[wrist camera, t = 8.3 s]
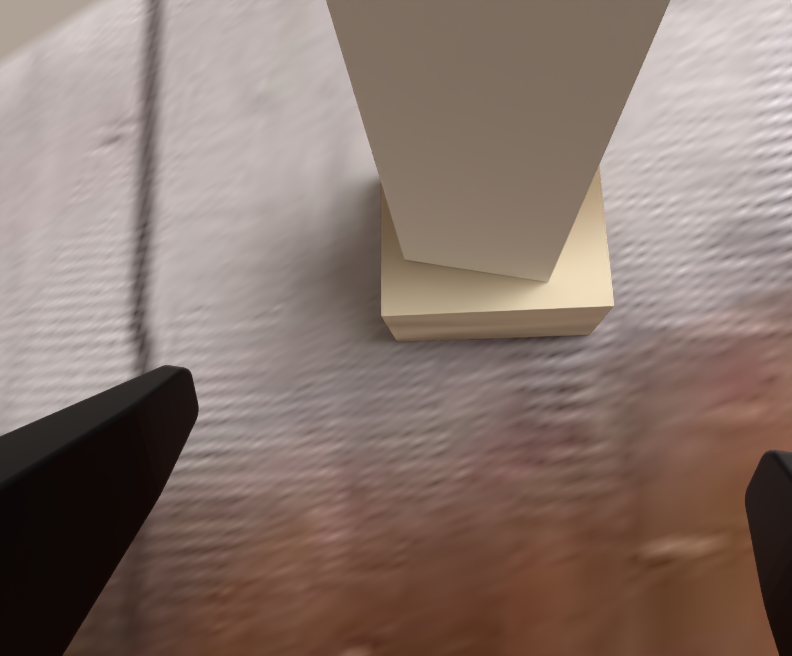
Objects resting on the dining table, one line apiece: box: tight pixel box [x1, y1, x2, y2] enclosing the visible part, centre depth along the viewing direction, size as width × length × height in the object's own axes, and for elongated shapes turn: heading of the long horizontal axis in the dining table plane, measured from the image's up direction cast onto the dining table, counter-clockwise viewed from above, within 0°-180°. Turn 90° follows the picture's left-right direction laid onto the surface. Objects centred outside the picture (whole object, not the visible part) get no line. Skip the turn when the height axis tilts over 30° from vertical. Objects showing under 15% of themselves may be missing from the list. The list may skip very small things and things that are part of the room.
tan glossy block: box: [381, 166, 614, 342], centre depth 20 cm, size 7×7×4 cm
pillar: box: [326, 0, 670, 282], centre depth 12 cm, size 4×4×12 cm
